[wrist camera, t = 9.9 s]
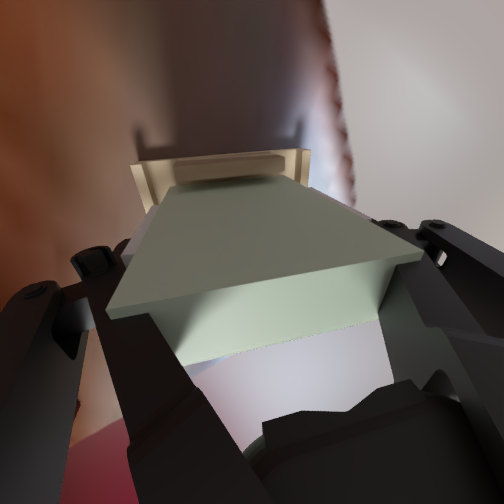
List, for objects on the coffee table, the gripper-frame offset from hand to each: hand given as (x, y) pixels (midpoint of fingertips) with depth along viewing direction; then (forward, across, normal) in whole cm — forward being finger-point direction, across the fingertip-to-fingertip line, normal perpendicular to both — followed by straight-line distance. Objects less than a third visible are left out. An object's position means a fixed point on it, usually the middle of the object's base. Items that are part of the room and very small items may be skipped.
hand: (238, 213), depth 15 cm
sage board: (+4, 0, 0) cm, 4 cm away
